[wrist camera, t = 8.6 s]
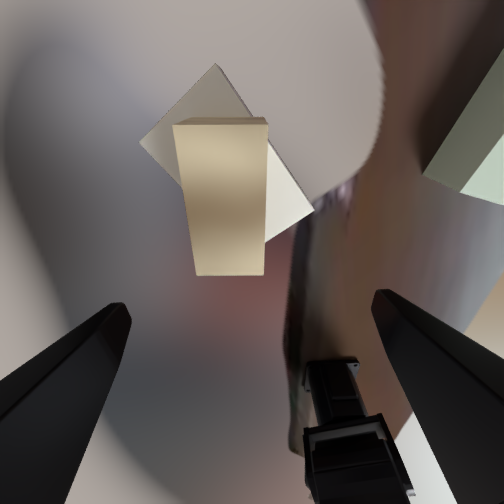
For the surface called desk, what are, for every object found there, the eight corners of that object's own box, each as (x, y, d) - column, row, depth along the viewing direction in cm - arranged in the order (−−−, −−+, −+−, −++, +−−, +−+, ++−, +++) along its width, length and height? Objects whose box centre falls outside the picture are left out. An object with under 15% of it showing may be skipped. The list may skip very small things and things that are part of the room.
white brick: (305, 195, 19) (314, 210, 17) (245, 235, 21) (245, 255, 18) (221, 68, 15) (215, 63, 12) (155, 135, 17) (138, 142, 14)
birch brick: (260, 241, 18) (263, 275, 14) (206, 241, 18) (196, 275, 14) (263, 116, 13) (268, 124, 10) (191, 117, 13) (172, 124, 10)
